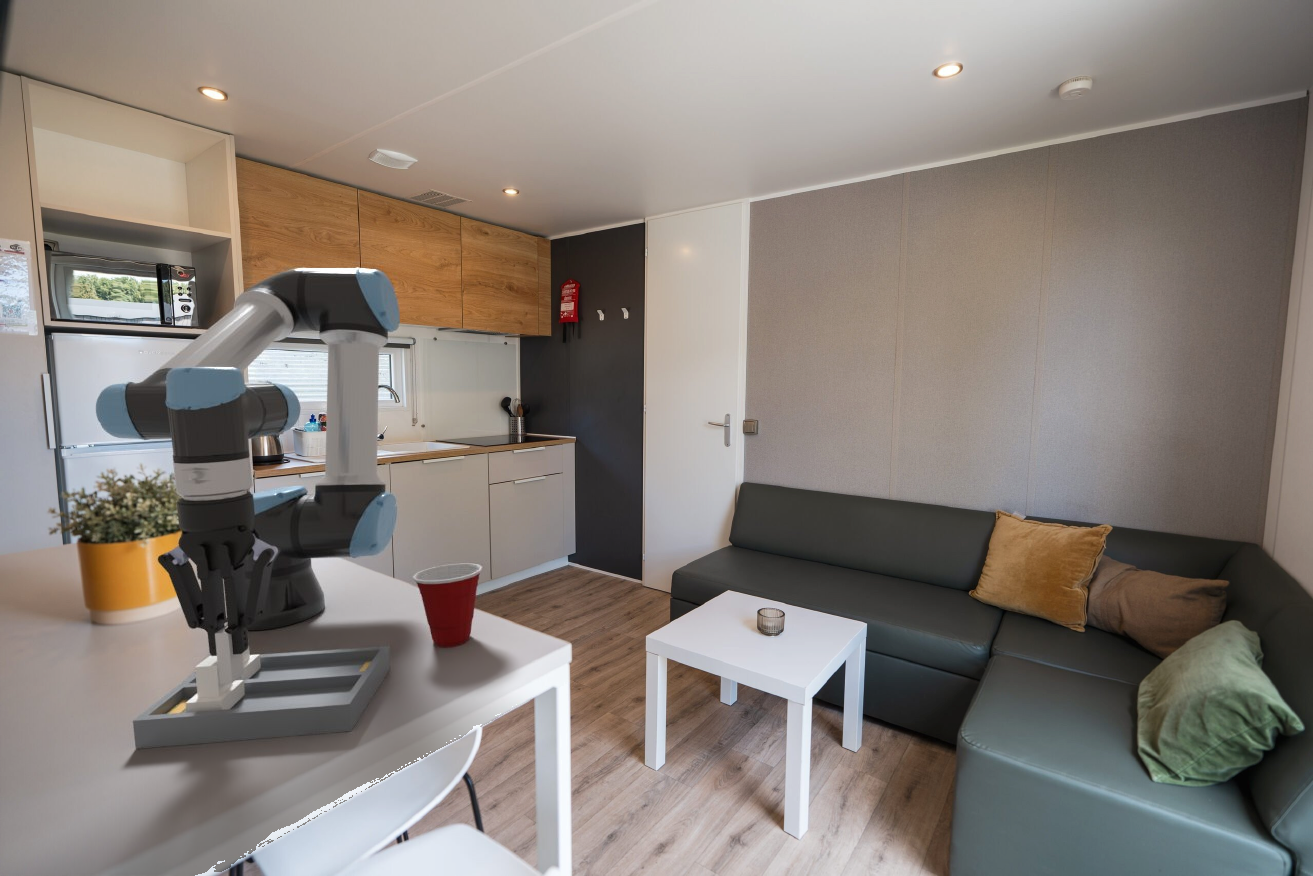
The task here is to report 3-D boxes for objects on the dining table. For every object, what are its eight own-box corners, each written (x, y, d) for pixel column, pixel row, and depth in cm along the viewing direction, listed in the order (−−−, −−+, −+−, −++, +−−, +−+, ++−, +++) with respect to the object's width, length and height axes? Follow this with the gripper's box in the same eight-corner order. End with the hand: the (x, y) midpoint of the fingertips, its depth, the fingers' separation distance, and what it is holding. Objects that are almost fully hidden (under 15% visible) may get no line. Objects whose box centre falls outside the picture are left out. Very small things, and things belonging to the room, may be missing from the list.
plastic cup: (467, 620, 107) (465, 555, 105) (496, 640, 99) (494, 569, 98) (406, 638, 99) (402, 569, 98) (431, 661, 92) (428, 585, 90)
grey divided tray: (216, 680, 86) (213, 657, 86) (390, 668, 89) (389, 646, 89) (135, 749, 70) (132, 720, 70) (351, 731, 74) (349, 704, 73)
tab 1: (211, 696, 77) (207, 652, 77) (244, 694, 78) (241, 650, 77) (186, 718, 72) (182, 671, 72) (222, 716, 73) (218, 669, 72)
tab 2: (230, 669, 85) (226, 629, 84) (260, 667, 85) (257, 627, 84) (209, 688, 80) (205, 645, 79) (241, 685, 80) (238, 642, 80)
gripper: (134, 502, 68) (154, 698, 71) (257, 498, 70) (273, 689, 72) (176, 490, 75) (193, 667, 78) (287, 486, 77) (300, 660, 80)
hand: (231, 677), depth 75 cm, fingers closed
